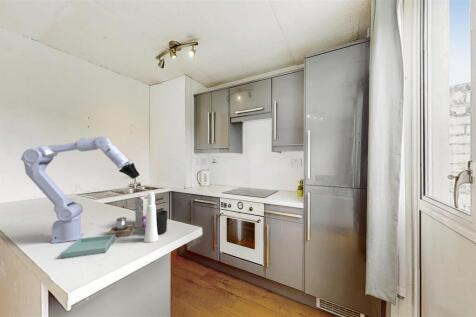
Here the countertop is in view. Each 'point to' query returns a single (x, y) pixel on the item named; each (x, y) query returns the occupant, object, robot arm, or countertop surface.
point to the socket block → (121, 231)
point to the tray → (89, 246)
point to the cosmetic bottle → (151, 220)
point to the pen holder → (161, 221)
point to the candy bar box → (141, 211)
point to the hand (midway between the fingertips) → (136, 176)
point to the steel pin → (121, 223)
